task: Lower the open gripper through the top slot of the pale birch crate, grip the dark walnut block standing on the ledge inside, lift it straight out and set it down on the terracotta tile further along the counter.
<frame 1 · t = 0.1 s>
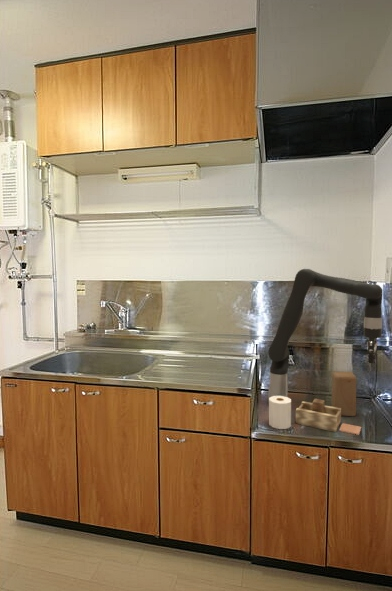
hand: (371, 361, 163), 29 cm above the worktop, fingers open, 8 cm apart
crate: (318, 422, 164), on the worktop
toilet paper: (279, 424, 162), on the worktop
tile: (350, 429, 156), on the worktop
wooden block: (343, 412, 176), on the worktop
walnut block: (318, 417, 164), point 2 cm above the worktop, touching crate
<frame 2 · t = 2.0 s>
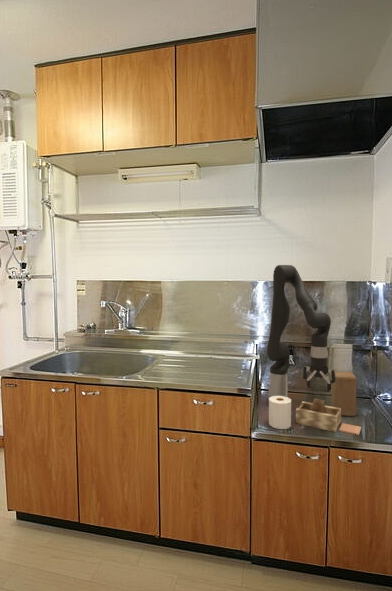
hand: (319, 389, 163), 16 cm above the worktop, fingers open, 8 cm apart
nothing on the worktop moved.
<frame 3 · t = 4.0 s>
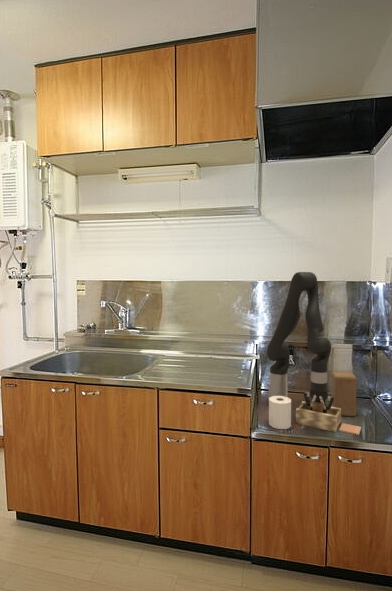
hand: (318, 415, 163), 3 cm above the worktop, fingers closed on walnut block, 4 cm apart
walnut block: (318, 417, 164), point 2 cm above the worktop, touching crate, gripper
everything else where it was.
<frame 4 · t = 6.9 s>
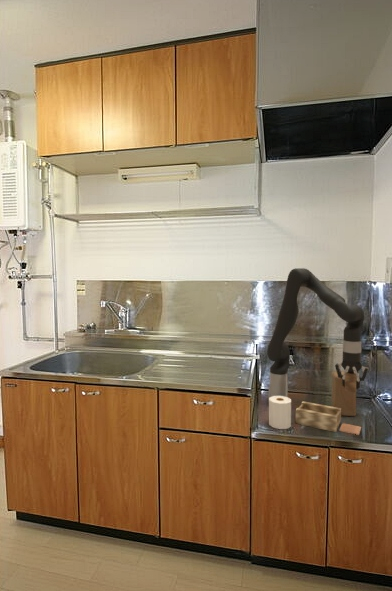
hand: (351, 388, 155), 19 cm above the worktop, fingers closed on walnut block, 4 cm apart
walnut block: (351, 390, 155), point 18 cm above the worktop, touching gripper
everything else where it was.
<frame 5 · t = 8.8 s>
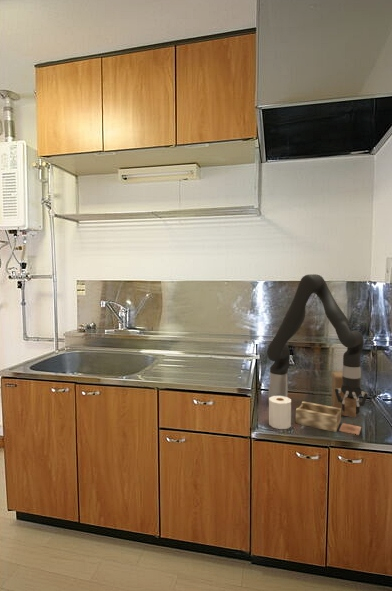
hand: (350, 412, 156), 8 cm above the worktop, fingers closed on walnut block, 4 cm apart
walnut block: (350, 414, 156), point 7 cm above the worktop, touching gripper
everything else where it was.
when the fingers open (3 cm above the worktop, at t = 10.2 s): walnut block drops 2 cm, resting on tile.
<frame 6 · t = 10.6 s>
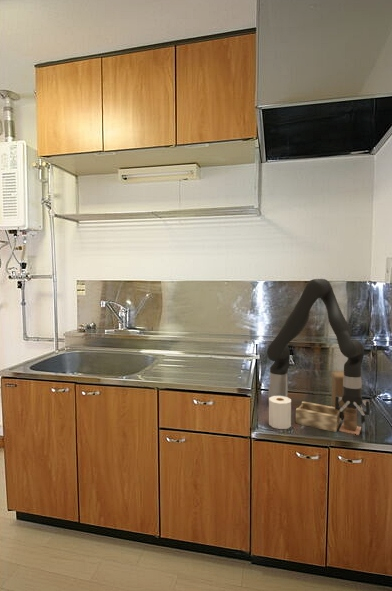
hand: (352, 421, 156), 4 cm above the worktop, fingers open, 8 cm apart
walnut block: (350, 428, 156), point 1 cm above the worktop, touching tile
everything else where it was.
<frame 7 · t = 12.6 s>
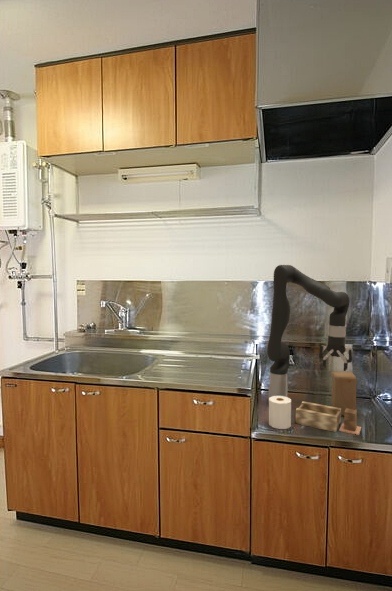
hand: (334, 369, 162), 26 cm above the worktop, fingers open, 8 cm apart
nothing on the worktop moved.
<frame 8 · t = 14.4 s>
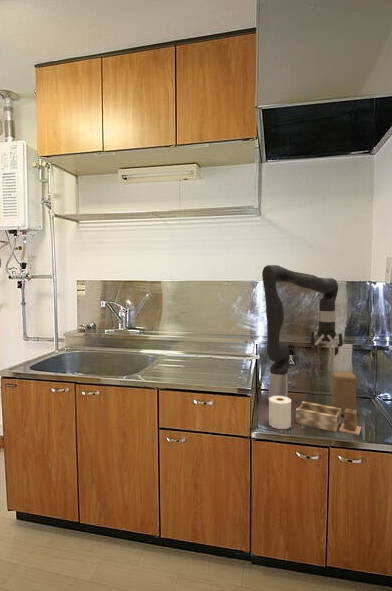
hand: (326, 353, 166), 32 cm above the worktop, fingers open, 8 cm apart
nothing on the worktop moved.
at the end: walnut block inside the target area on the tile (0.0 cm from its centre), point 0.6 cm above the tile's base; walnut block tilted 0°; walnut block touching tile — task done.
